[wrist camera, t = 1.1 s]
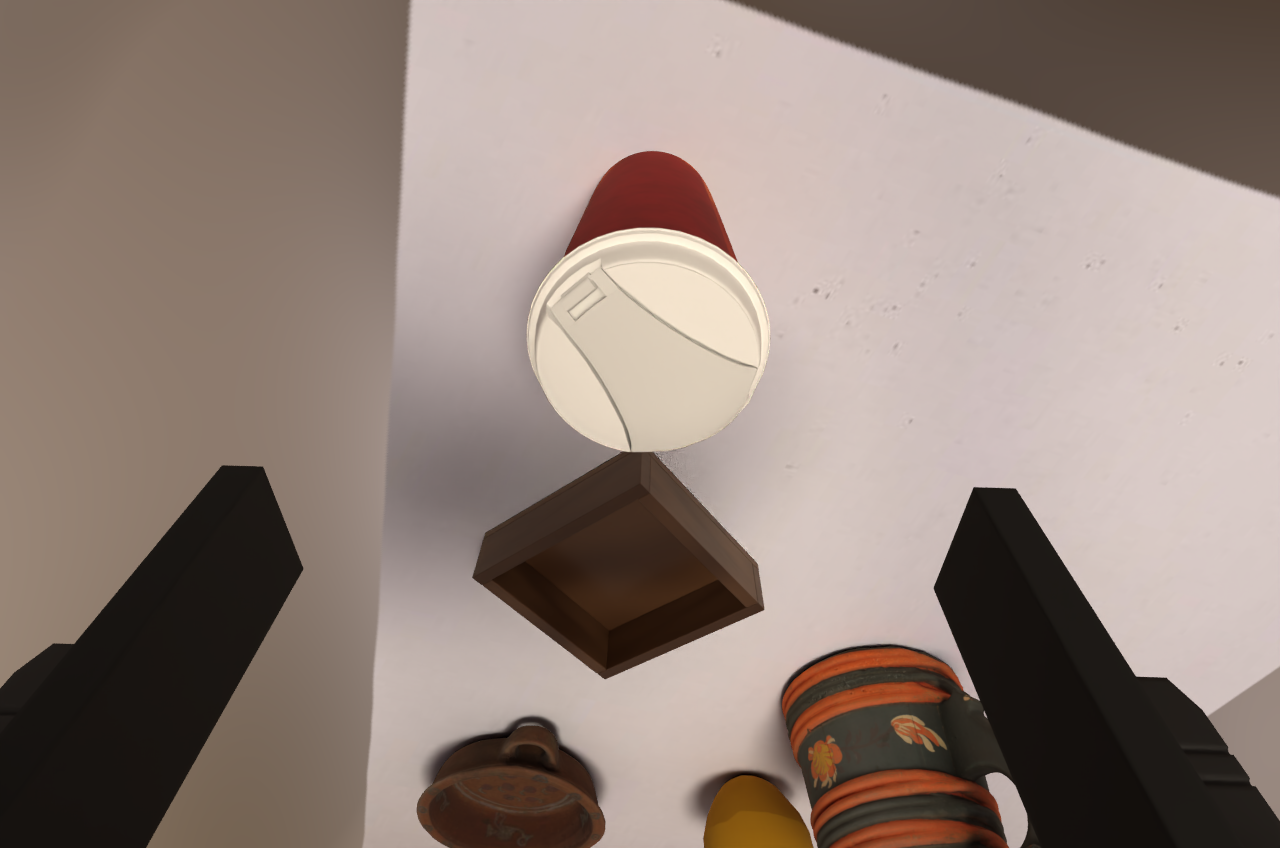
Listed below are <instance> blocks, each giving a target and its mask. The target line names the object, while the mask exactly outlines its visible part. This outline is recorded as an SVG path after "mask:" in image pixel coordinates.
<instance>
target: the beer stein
mask: <svg viewBox="0 0 1280 848" xmlns="http://www.w3.org/2000/svg"><path fill="white" fill-rule="evenodd" d="M782 710H783V714H784V717H785V720H786V725H787V729H788V736H789V740H790V742H791V747H792V750H793V754H794V758H795V760H796V762H797V763H798V765H799V766H800V767H801V769H802V773H803V777H804V780H805V784H806V788H807V792H808V796H809V800H810V804H811V808H812V812H811V826H812V829H813V833H814V838H815V840H816V842H817V846H818V848H1009V847H1008V845H1007V840H1006V837H1005V834H1004V829H1003V825H1002V823H1001V816H1000V813H999V809H998V804H997V802H996V800H995V798H994V797H993V796H992V795H991V794H990V792H989V788H988V785H987V781H986V777H985V775H987V774H990V773H994V772H999V773H1002V774H1004V775H1005V776H1007V777H1008V778H1009V779H1010V780H1011V781H1012V782H1013V783H1014V781H1013V778H1012V776H1011V774H1010V771H1009V769H1008V766H1007V764H1006V761H1005V759H1004V757H1003V754H1002V752H1001V749H1000V747H999V745H998V742H997V740H996V737H995V735H994V733H993V730H992V728H991V725H990V723H989V721H988V719H987V718H986V717H985V716H984V709H983V706H982V704H981V701H979V700H977V699H975V698H973V697H971V696H970V695H969V694H967V693H966V692H964V691H963V687H962V686H961V684H960V682H959V679H958V677H957V676H956V675H955V673H954V671H953V669H951V668H950V667H949V666H948V665H947V664H945V663H944V662H942V661H940V660H938V659H936V658H935V657H933V656H931V655H928V654H926V653H925V652H919V651H918V652H915V651H912V650H908V649H903V648H902V647H892V646H890V647H879V648H859V649H853V650H848V651H844V652H842V653H839V654H836V655H833V656H831V657H829V658H826V659H825V660H822V661H820V662H818V663H816V664H814V665H813V666H811V667H810V668H808V669H807V670H806V671H804V672H803V673H802V674H800V675H799V676H798V677H797V678H796V679H795V680H793V682H792V683H791V684H790V685H789V687H788V689H787V690H786V692H785V694H784V697H783V702H782ZM1014 784H1015V783H1014ZM1027 818H1028V831H1027V835H1026V838H1025V840H1024V842H1023V844H1022V846H1021V848H1041V846H1040V843H1039V841H1038V839H1037V836H1036V834H1035V831H1034V829H1033V826H1032V824H1031V822H1030V819H1029V817H1028V814H1027Z"/></svg>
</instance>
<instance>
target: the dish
mask: <svg viewBox="0 0 1280 848" xmlns="http://www.w3.org/2000/svg"><path fill="white" fill-rule="evenodd" d="M417 815H418V819H419V821H420V823H421V825H422V826H423V828H424V829H425V830H426V831H427V832H428V833H429V834H430V835H431V836H432V837H433V838H434V839H435V840H437V841H438V842H440V843H442V844H443V845H445V846H447V847H449V848H590V847H592V846H593V845H595V844H596V843H597V842H598V841H599V840H600V839H601V838H602V836H603V835H604V832H605V819H604V815H603V812H602V810H601V809H600V807H599V806H598V802H597V797H596V792H595V789H594V785H593V782H592V779H591V777H590V775H589V773H588V772H587V771H586V770H585V768H584V767H583V766H582V765H581V764H580V763H579V762H578V761H577V760H575V759H574V758H573V757H571V756H569V755H568V754H566V753H565V752H563V751H561V750H559V749H558V742H557V740H556V737H555V736H554V735H553V733H552V732H550V731H549V730H548V729H546V728H543V727H541V726H522V727H520V728H518V729H516V730H515V731H514V732H513V733H512V734H511V735H510V736H509V737H508V738H499V739H488V740H482V741H478V742H475V743H472V744H470V745H467V746H465V747H463V748H462V749H460V750H458V751H457V752H455V753H454V754H453V755H451V756H450V757H449V758H448V759H447V760H446V762H445V763H444V764H443V766H442V767H441V769H440V771H439V772H438V774H437V776H436V778H435V780H434V782H433V784H432V785H431V786H430V787H428V788H427V789H426V790H425V791H424V793H423V794H422V795H421V797H420V798H419V801H418V803H417Z"/></svg>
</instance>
